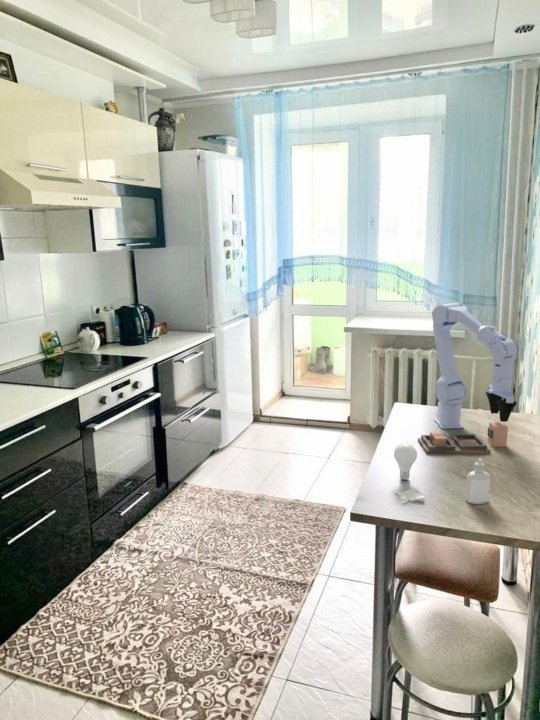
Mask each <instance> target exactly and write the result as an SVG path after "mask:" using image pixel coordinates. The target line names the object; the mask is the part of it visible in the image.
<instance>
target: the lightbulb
mask: <svg viewBox="0 0 540 720" xmlns="http://www.w3.org/2000/svg"><path fill="white" fill-rule="evenodd" d="M417 457H418V452H417V449H416V448H415V447H414V446H413V444H411V443H408V442H403V443H399V444H398V445H396V447H395V448H394V451H393V458H394V459H395V461H396V463H397V464H398V468H399V478H400V479H401V480H403V481H407V480H409V479H410V471H411V470H412V466H413V464H414V463H416V461H417V459H418V458H417Z"/></svg>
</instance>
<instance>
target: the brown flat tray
mask: <svg viewBox="0 0 540 720" xmlns="http://www.w3.org/2000/svg"><path fill="white" fill-rule="evenodd" d="M417 442H418V443H419V445H420V446H421V448H422V449H423V451H424V452H425V454H426V455H451V454H452V455H453V454H462V455H463V454H464V455H465V454H490V453H491V449H490V448H489V447H488V445H486V443H485V442H484V441H483V440H482V439H481V438H480V437H479V436H478V435H477V434H476V433H468V434H467V433H464V434H463V433H462V434H460V433H459V434H458V433H457V434H450V437H448V436H447V434H444V433H443V432H442V431H430V432H429V434H422V435H421V436H420V437H418V438H417Z"/></svg>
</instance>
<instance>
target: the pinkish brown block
mask: <svg viewBox="0 0 540 720" xmlns="http://www.w3.org/2000/svg"><path fill="white" fill-rule="evenodd" d="M508 431H509V426H508V425H507V424H506V423H505V422H501V421H489V424H488V427H487V436H488V438H487V442H488V444H490V446H491V447H493V448H495V447H499V446H500V447H507V444H508V443H507V442H508Z"/></svg>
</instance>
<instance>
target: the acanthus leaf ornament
mask: <svg viewBox="0 0 540 720" xmlns="http://www.w3.org/2000/svg"><path fill="white" fill-rule="evenodd" d="M395 493H396V494H395ZM394 494H395V495H397V494H399V495H398V496H400V498H399V501H400V500H401V503H400V505H402V504H403V505H405V504H404V503H406V504H408V503H409V502H410V501H411V502H410V503H414V502H417V501H421V503H422V501H423V502H424V500H425V496H424V495H422V494H421V493H420V492H419V488H418V486H417V487H412V488H409V489H407V490H406V491H401V492H400V491H399V490H395V491H394ZM407 502H408V503H407Z"/></svg>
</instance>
